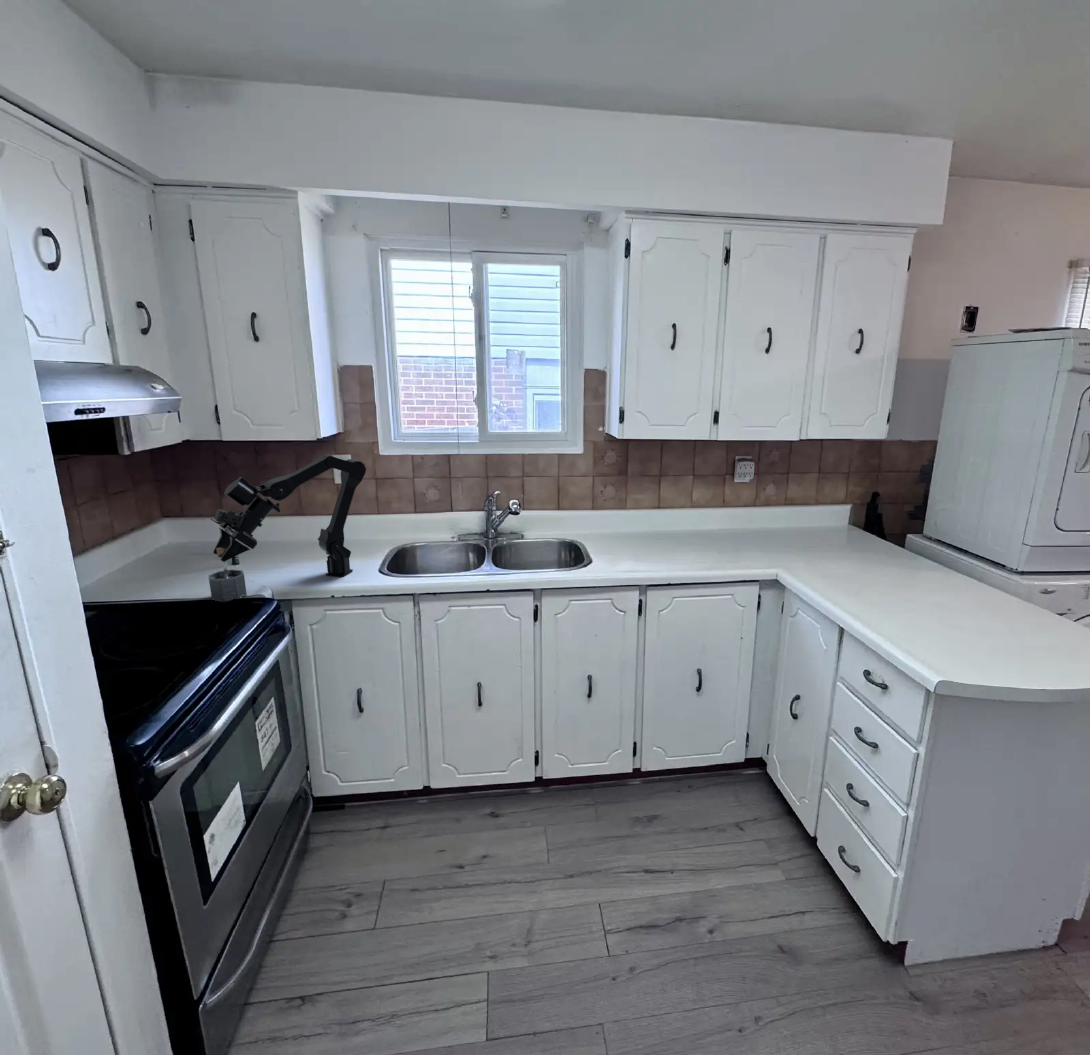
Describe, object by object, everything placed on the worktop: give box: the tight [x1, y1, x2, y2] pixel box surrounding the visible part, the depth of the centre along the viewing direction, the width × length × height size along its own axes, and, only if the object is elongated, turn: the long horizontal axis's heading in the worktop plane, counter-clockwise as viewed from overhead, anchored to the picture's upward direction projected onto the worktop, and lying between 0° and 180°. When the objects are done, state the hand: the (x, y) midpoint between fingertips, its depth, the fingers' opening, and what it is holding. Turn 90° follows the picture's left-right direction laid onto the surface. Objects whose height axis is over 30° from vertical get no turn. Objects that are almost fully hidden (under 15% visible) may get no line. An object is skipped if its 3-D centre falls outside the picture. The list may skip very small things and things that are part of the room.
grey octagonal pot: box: [208, 569, 247, 604], centre depth 166 cm, size 9×9×7 cm
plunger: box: [216, 547, 236, 580], centre depth 164 cm, size 7×7×10 cm
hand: (218, 557), depth 163 cm, fingers open, 9 cm apart
